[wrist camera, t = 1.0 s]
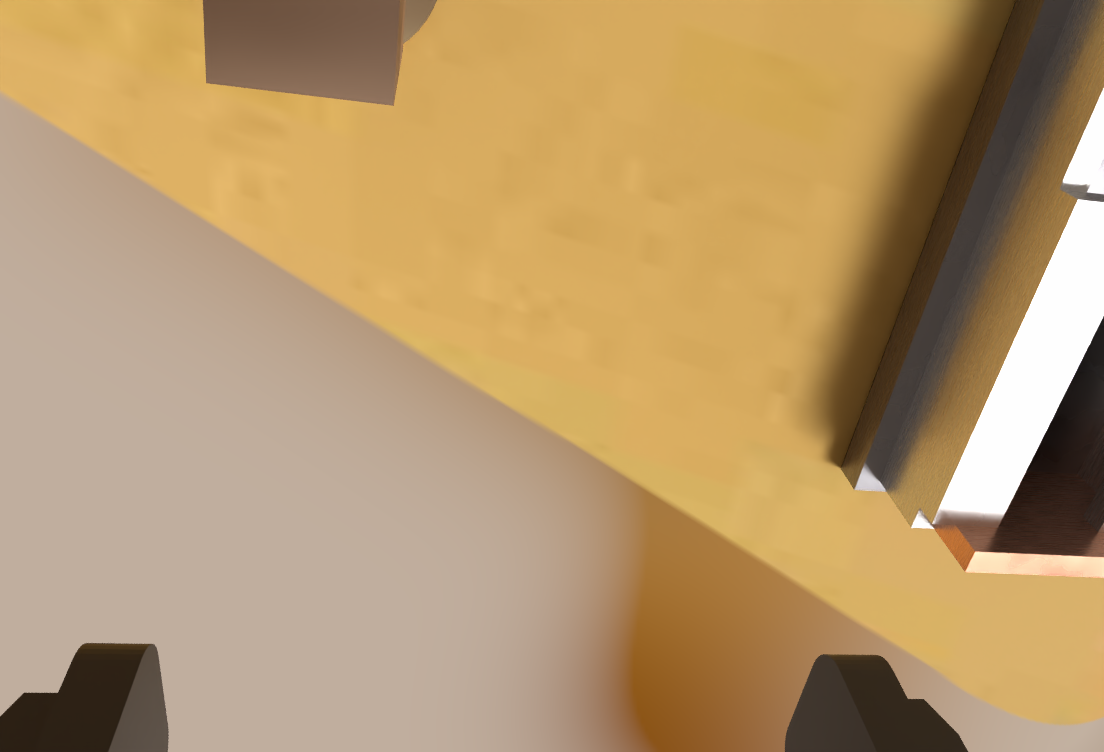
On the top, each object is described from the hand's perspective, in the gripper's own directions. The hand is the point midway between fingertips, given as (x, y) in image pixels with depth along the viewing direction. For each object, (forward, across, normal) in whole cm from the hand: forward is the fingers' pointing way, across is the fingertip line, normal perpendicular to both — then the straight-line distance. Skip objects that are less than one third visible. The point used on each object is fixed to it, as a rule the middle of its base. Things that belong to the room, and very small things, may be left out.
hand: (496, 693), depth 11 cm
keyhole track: (+23, -24, +1) cm, 33 cm away
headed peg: (+23, +4, -5) cm, 24 cm away
